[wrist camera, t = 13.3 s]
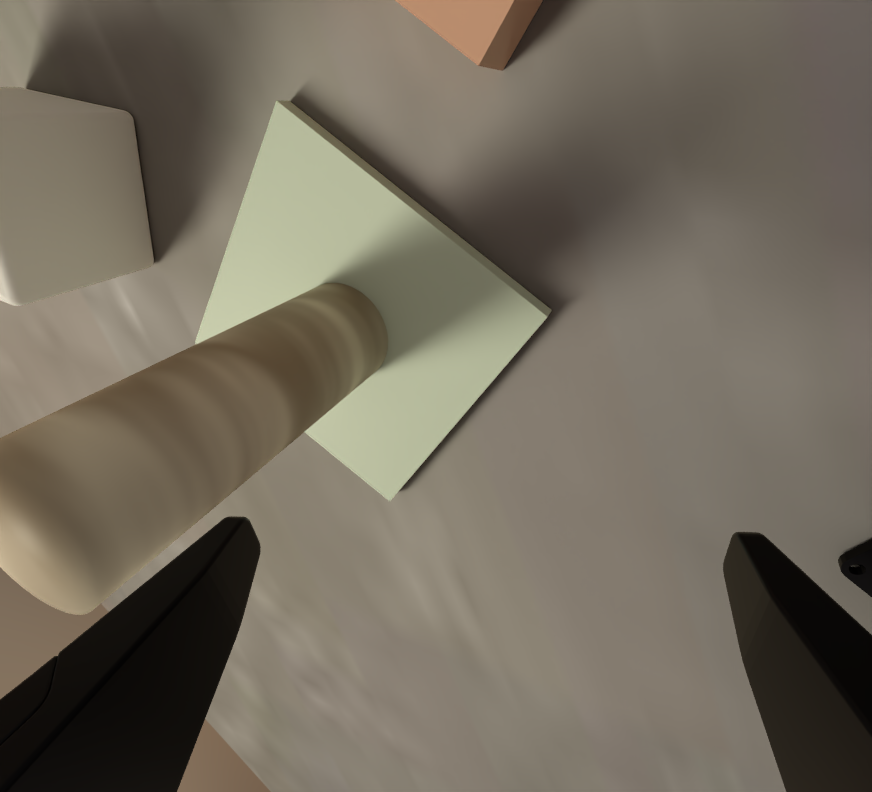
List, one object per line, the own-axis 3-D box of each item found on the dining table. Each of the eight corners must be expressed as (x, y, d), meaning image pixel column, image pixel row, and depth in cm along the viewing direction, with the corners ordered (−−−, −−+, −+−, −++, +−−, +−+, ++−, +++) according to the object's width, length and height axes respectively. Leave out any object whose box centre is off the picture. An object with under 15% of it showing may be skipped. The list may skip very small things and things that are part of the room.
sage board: (551, 310, 20) (547, 316, 20) (396, 492, 28) (389, 501, 27) (289, 100, 21) (276, 100, 20) (206, 337, 28) (194, 342, 28)
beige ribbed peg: (384, 288, 22) (54, 482, 10) (390, 386, 24) (121, 637, 12) (293, 278, 23) (-82, 437, 12) (306, 371, 25) (-2, 583, 14)
